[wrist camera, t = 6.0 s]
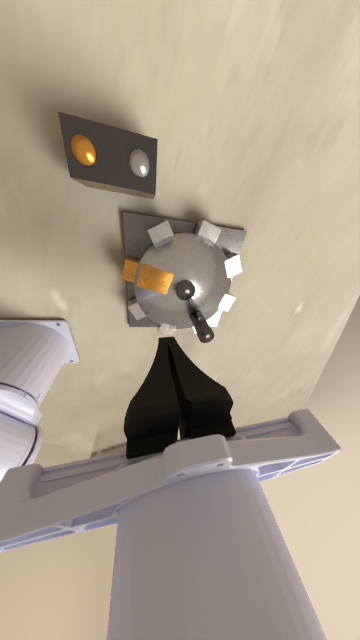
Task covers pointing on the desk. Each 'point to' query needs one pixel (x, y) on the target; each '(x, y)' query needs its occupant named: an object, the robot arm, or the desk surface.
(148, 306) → the sprocket
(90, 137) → the two-button control panel
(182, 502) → the robot arm
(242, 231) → the plate
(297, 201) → the desk surface
